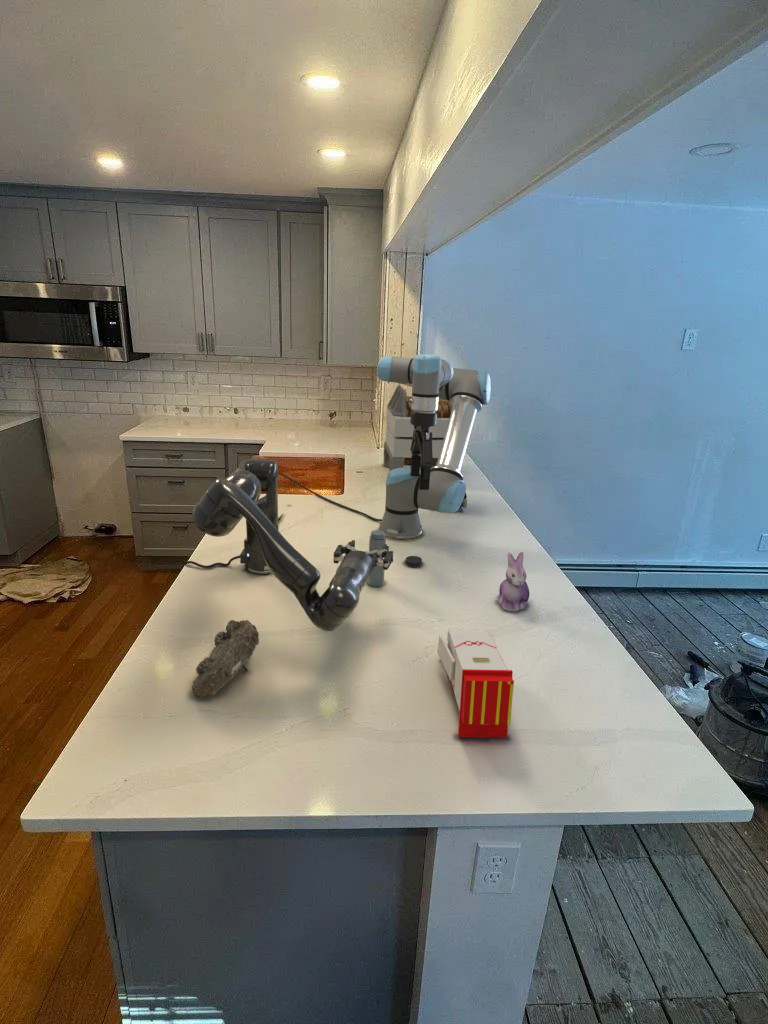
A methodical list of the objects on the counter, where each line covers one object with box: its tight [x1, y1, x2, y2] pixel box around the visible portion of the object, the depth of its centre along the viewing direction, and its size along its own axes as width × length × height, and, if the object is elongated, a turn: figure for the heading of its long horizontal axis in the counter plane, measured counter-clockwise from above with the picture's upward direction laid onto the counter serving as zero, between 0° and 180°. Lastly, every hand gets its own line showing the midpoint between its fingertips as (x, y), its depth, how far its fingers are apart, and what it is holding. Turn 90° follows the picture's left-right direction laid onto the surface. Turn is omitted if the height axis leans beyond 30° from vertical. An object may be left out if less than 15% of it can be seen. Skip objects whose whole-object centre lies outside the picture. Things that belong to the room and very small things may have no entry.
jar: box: [367, 529, 387, 587], centre depth 161 cm, size 5×5×16 cm
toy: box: [437, 628, 515, 738], centre depth 117 cm, size 12×13×30 cm
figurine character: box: [459, 491, 468, 512], centre depth 228 cm, size 7×8×15 cm
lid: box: [404, 555, 423, 568], centre depth 177 cm, size 5×5×2 cm
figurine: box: [497, 551, 530, 612], centre depth 152 cm, size 9×10×15 cm
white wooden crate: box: [383, 384, 462, 474], centre depth 268 cm, size 34×33×41 cm
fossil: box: [191, 619, 260, 698], centre depth 121 cm, size 22×10×15 cm
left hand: (369, 545), depth 147 cm, fingers open, 8 cm apart
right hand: (419, 482), depth 168 cm, fingers open, 13 cm apart
